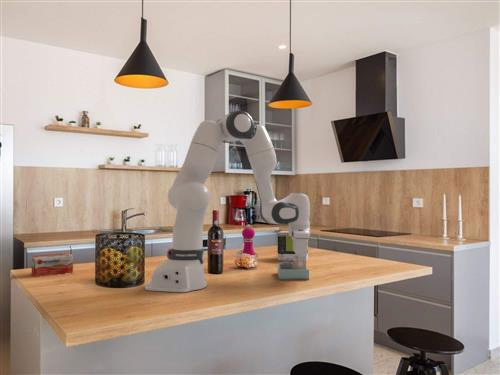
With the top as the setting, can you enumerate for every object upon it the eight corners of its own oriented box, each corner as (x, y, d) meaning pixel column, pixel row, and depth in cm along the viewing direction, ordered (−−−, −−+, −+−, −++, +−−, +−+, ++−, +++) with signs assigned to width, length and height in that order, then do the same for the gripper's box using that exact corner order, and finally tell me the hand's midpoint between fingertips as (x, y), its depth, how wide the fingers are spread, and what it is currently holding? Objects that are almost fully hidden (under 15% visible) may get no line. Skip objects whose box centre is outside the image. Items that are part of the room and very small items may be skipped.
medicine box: (33, 277, 167) (34, 258, 168) (31, 274, 174) (31, 255, 174) (73, 273, 176) (73, 255, 176) (69, 270, 183) (69, 252, 183)
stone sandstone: (296, 270, 168) (296, 258, 168) (293, 268, 171) (293, 256, 172) (305, 269, 169) (305, 257, 169) (302, 268, 172) (302, 256, 172)
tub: (279, 279, 165) (279, 269, 166) (277, 273, 178) (277, 263, 178) (309, 279, 165) (309, 269, 165) (305, 273, 178) (305, 264, 178)
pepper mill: (254, 268, 188) (254, 225, 188) (238, 268, 189) (239, 225, 189) (257, 266, 195) (257, 224, 195) (242, 265, 196) (242, 223, 197)
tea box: (308, 258, 217) (308, 230, 217) (306, 262, 207) (306, 232, 207) (280, 257, 220) (280, 230, 221) (277, 260, 211) (277, 231, 211)
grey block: (282, 274, 172) (282, 262, 172) (281, 272, 176) (281, 261, 176) (291, 274, 172) (291, 262, 172) (290, 272, 176) (290, 261, 176)
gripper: (289, 229, 181) (289, 260, 180) (294, 234, 160) (294, 269, 160) (303, 229, 180) (303, 260, 180) (310, 234, 160) (310, 269, 160)
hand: (299, 264), depth 170 cm, fingers closed on stone sandstone, 5 cm apart
